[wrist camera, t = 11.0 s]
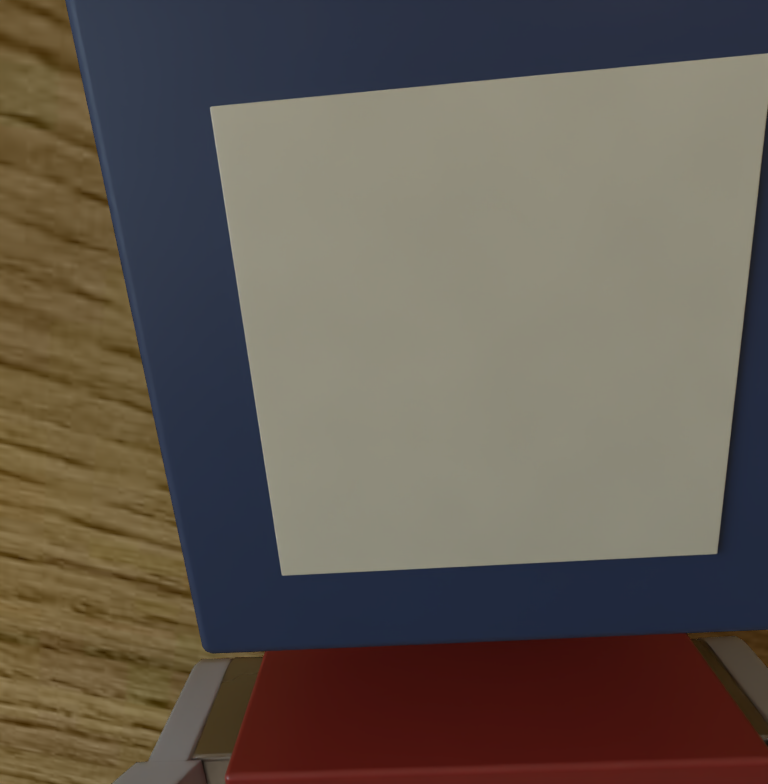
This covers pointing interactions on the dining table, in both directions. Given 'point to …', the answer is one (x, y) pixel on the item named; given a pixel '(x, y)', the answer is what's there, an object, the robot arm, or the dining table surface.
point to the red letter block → (496, 716)
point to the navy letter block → (447, 309)
